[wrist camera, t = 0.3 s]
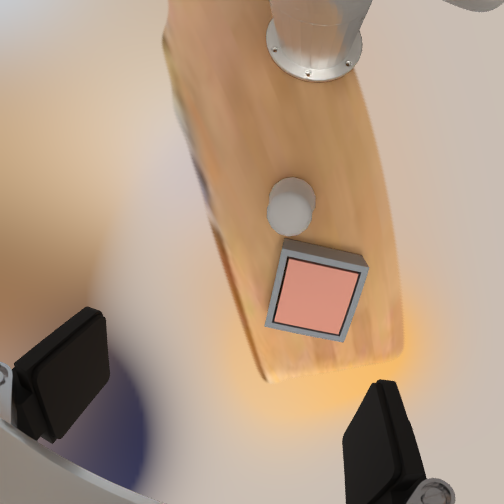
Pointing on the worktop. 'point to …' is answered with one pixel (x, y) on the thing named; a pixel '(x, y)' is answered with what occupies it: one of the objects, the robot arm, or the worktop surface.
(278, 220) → the grey bowling pin
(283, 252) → the press housing
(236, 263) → the worktop surface
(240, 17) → the worktop surface
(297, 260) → the pan
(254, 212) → the worktop surface
